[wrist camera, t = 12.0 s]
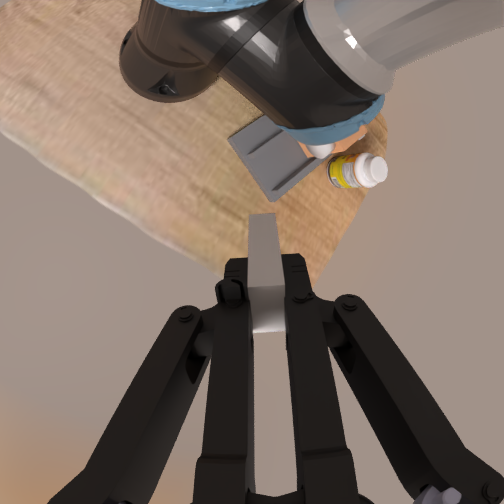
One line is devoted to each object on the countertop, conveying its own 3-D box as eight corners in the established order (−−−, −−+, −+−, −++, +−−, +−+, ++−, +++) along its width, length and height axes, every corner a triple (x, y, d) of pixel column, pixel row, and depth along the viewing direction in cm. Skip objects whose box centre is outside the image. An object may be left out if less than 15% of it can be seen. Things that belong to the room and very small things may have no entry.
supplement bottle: (348, 158, 52) (390, 153, 43) (349, 188, 53) (391, 188, 44) (324, 155, 50) (366, 148, 41) (325, 187, 51) (367, 186, 42)
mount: (227, 139, 43) (247, 128, 36) (304, 90, 47) (331, 77, 40) (269, 201, 47) (296, 202, 40) (338, 145, 51) (367, 140, 44)
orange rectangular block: (283, 139, 44) (317, 128, 36) (316, 116, 46) (352, 104, 38) (299, 164, 46) (335, 158, 38) (330, 139, 48) (367, 131, 40)
